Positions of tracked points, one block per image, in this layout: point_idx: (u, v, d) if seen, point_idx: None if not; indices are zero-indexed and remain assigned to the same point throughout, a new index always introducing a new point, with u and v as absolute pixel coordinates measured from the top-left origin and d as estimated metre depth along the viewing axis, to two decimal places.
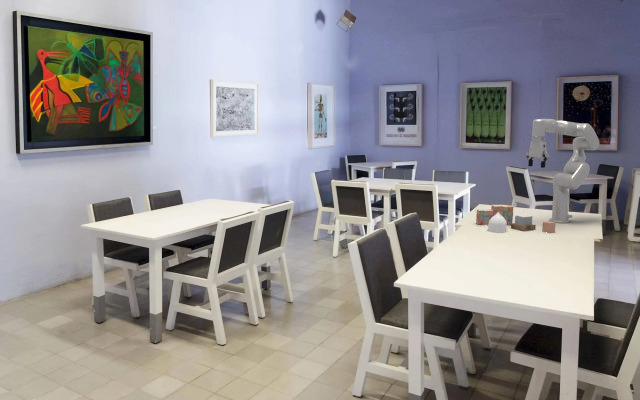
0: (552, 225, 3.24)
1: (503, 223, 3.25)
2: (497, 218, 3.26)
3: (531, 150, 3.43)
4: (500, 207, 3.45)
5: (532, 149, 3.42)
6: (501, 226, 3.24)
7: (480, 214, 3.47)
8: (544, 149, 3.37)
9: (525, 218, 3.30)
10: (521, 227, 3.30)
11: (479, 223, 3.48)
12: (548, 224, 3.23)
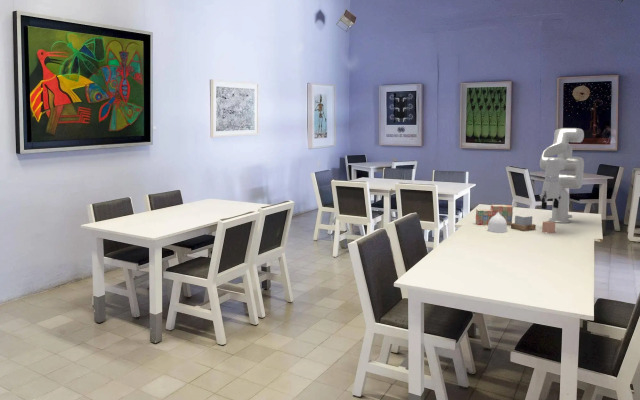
0: (552, 225, 3.24)
1: (503, 223, 3.25)
2: (497, 218, 3.26)
3: (551, 191, 3.20)
4: (499, 207, 3.45)
5: (552, 190, 3.20)
6: (501, 226, 3.24)
7: (479, 214, 3.47)
8: None
9: (525, 218, 3.30)
10: (521, 227, 3.30)
11: (479, 223, 3.48)
12: (548, 224, 3.23)
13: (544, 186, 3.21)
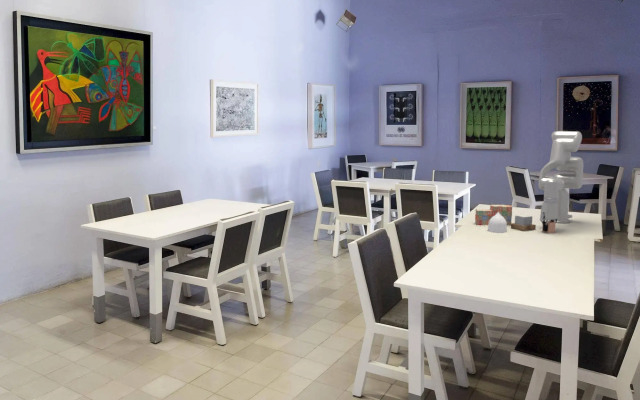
0: (552, 225, 3.24)
1: (503, 223, 3.25)
2: (497, 218, 3.26)
3: (549, 213, 3.22)
4: (499, 207, 3.45)
5: (550, 211, 3.22)
6: (501, 226, 3.24)
7: (479, 214, 3.47)
8: None
9: (525, 218, 3.30)
10: (521, 227, 3.30)
11: (478, 223, 3.48)
12: (548, 224, 3.23)
13: (543, 207, 3.23)
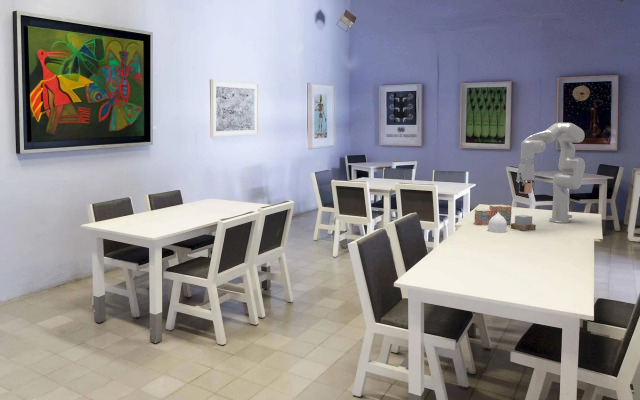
0: (528, 185, 3.29)
1: (503, 223, 3.25)
2: (497, 218, 3.26)
3: (526, 173, 3.27)
4: (498, 207, 3.45)
5: (527, 172, 3.27)
6: (501, 226, 3.24)
7: (478, 214, 3.47)
8: None
9: (525, 218, 3.30)
10: (521, 227, 3.30)
11: (477, 223, 3.48)
12: (524, 185, 3.28)
13: (519, 168, 3.28)
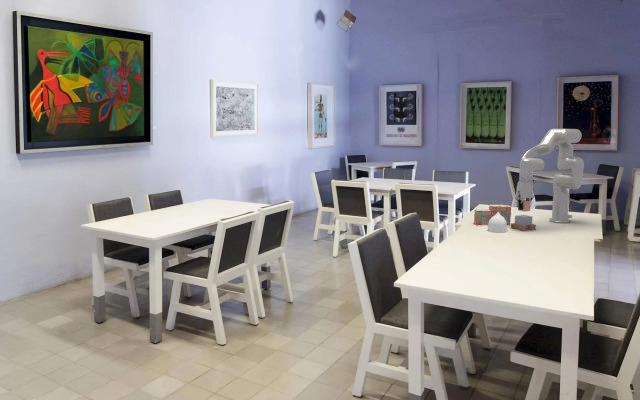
0: (527, 203, 3.31)
1: (503, 223, 3.25)
2: (497, 218, 3.26)
3: (524, 191, 3.29)
4: (498, 207, 3.45)
5: (525, 190, 3.29)
6: (501, 226, 3.24)
7: (478, 214, 3.47)
8: None
9: (525, 218, 3.30)
10: (521, 227, 3.30)
11: (477, 223, 3.48)
12: (523, 202, 3.30)
13: (518, 186, 3.30)
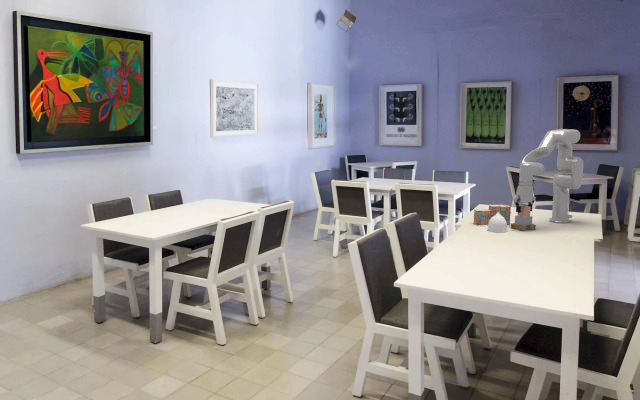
0: (527, 208, 3.31)
1: (503, 223, 3.25)
2: (497, 218, 3.26)
3: (524, 195, 3.29)
4: (497, 207, 3.45)
5: (525, 194, 3.29)
6: (501, 226, 3.24)
7: (478, 214, 3.47)
8: None
9: (525, 218, 3.30)
10: (521, 227, 3.30)
11: (477, 223, 3.48)
12: (523, 208, 3.31)
13: (518, 190, 3.30)
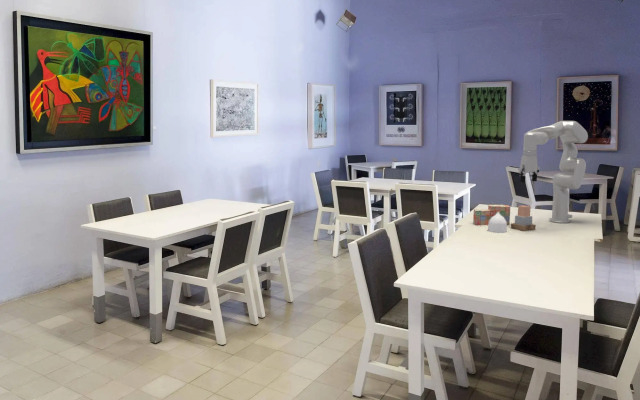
0: (527, 208, 3.31)
1: (503, 223, 3.25)
2: (497, 218, 3.26)
3: (529, 165, 3.29)
4: (497, 207, 3.45)
5: (530, 164, 3.29)
6: (501, 226, 3.24)
7: (477, 214, 3.47)
8: None
9: (525, 218, 3.30)
10: (521, 227, 3.30)
11: (476, 223, 3.48)
12: (523, 208, 3.31)
13: (522, 160, 3.30)
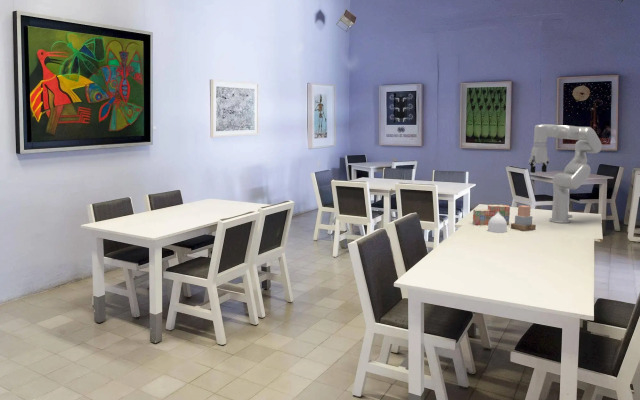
0: (527, 208, 3.31)
1: (503, 223, 3.25)
2: (497, 218, 3.26)
3: (539, 156, 3.40)
4: (497, 207, 3.45)
5: (540, 155, 3.40)
6: (501, 226, 3.24)
7: (477, 214, 3.47)
8: None
9: (525, 218, 3.30)
10: (521, 227, 3.30)
11: (476, 223, 3.48)
12: (523, 208, 3.31)
13: (533, 151, 3.41)
